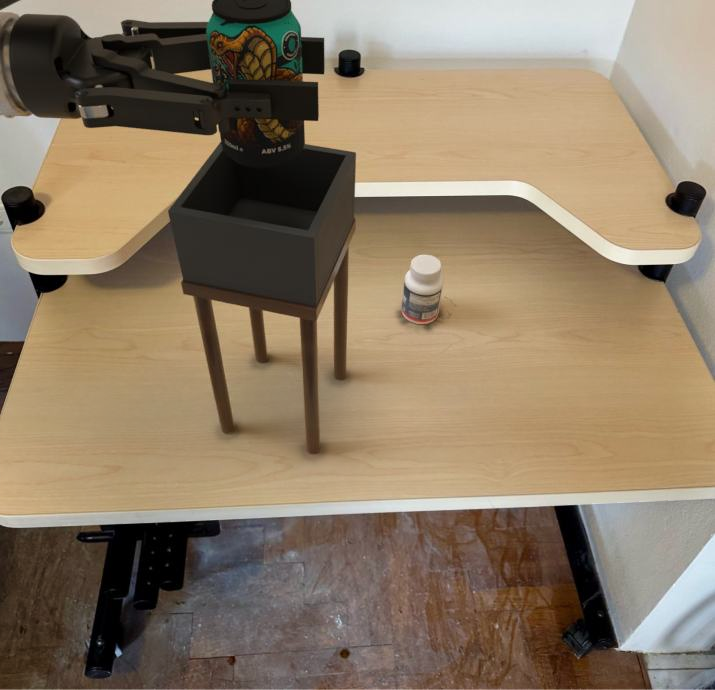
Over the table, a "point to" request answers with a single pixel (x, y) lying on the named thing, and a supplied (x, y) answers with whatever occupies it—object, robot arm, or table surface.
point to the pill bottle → (422, 290)
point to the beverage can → (257, 74)
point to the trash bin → (266, 223)
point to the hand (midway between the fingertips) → (320, 77)
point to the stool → (256, 308)
